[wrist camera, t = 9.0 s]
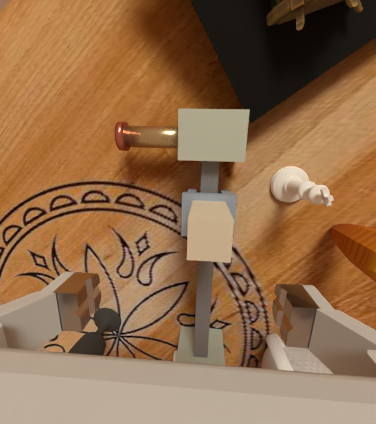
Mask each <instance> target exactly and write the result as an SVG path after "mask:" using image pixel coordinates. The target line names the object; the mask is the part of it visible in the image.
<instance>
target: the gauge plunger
mask: <svg viewBox="0 0 376 424" xmlns="http://www.w3.org/2000/svg"><path fill="white" fill-rule="evenodd" d="M115 141H116V145H117V147H118V149H119V150H122V151H128V150H129V149H130V147H141V148H178V127H176V126H129V125H128V123H127V122H117V123H116V126H115Z"/></svg>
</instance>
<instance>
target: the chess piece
mask: <svg viewBox="0 0 376 424" xmlns="http://www.w3.org/2000/svg"><path fill="white" fill-rule="evenodd" d="M270 188H271V192H272V194H273V196H274V197H275V198H276V199H278V200H279V201H282V202H295V201H297V200H299V199H302V200H309V201H310V202H311V203H313V204H316V205H319V204H323V203H324V206H330V205H331V201H333V200H334V199H333V196H332V195H330V192H329V189H328V188H327V187H326V186H324V185H316V184H315V183H313V182H310V181H309V178H308V176H307V174H306V173H305V172H304V171H303V170H302V169H300V168H298V167H295V166H288V167H284V168H282V169H280V170H278V171H277V172H276V173H275V174H274V176H273V178H272V180H271V184H270Z"/></svg>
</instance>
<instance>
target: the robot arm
mask: <svg viewBox="0 0 376 424" xmlns="http://www.w3.org/2000/svg"><path fill="white" fill-rule="evenodd" d="M99 283H100V279H99V275H98V274H94V273H81V272H64V273H62V274H61V275H60V276H59V277H57V278H56V279H55V280H54V281H53V282H51V283H50V284H49V285H48V286H47V287H45V288H44V289H43V290H42V291H40V292H34V293H32V294H29V295H27V296H24V297H21V298H19V299H16V300H14V301H11V302H9V303H6V304H3V305H1V306H0V424H376V330H374V329H373V328H371V327H369V326H367V325H365V324H363V323H361V322H360V321H358V320H356V319H354V318H352V317H350V316H349V315H347V314H345V313H343V312H341V311H339V310H334V308H333V307H332V306H331V305H330V304H329V303H328V301H327V300H326V299H325V298H324V297H323V296H322V295H321V293H320V292H319V291H318V290H317V289H316V288H315V286H313V285H291V284H276V286H275V291H274V293H275V295H276V298H275V299H274V300H273V306H272V310H273V317H274V320H275V323H276V324H277V325H278V326H279V327H281V328H280V334H281V336H282V339H283V341H284V343H285V345H286V346H287V347H297V348H307V349H308V350H309V351H310V352H311V353H312V354H313V355H315V356H316V357H317V358H318V359H319V360H320V361H321V362H322V363H323V364H324V365H325V366H326V367H327V368H328V369H330V370H331V371H332V372H333V373H334V374H325V373H313V372H300V371H288V370H275V369H263V368H250V367H238V366H225V365H213V364H200V363H187V362H175V361H162V360H149V359H137V358H124V357H112V356H99V355H87V354H74V353H62V352H49V351H37V350H36V349H38V348H39V347H41V346H42V345H43V344H45V343H46V342H48V341H49V340H51V339H52V338H53V337H55V336H56V335H58V334H59V333H61V332H62V331H82V330H83V329H84V328H85V326H86V325H87V323H88V322H89V320H90V315H91V314H93V313H94V312H96V310H97V309H98V307H99V304H100V301H101V290H100V289H99V288H98V287H97V286H98V284H99Z"/></svg>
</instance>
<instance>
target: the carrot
mask: <svg viewBox="0 0 376 424" xmlns="http://www.w3.org/2000/svg"><path fill="white" fill-rule="evenodd" d="M330 231H331V236H332V239H333V241H334V242H335V243H336V245H337V246H338V248H339V249H340V250H341V251H342V252H343V254H344V255H345V256H346V257H347V258H348V259H349V260H350V261H351V262H352V263H353V264H354V265H355V266H356V267H358V268H359V269H360V270H361V271H362V272H364V273H365V274H366V275H368V276H369V277H370V278H371V279H373V280H374V281H375V282H376V229H375V228H371V227H366V226H360V225H353V224H338V225H334V226H333V227H331V230H330Z"/></svg>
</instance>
